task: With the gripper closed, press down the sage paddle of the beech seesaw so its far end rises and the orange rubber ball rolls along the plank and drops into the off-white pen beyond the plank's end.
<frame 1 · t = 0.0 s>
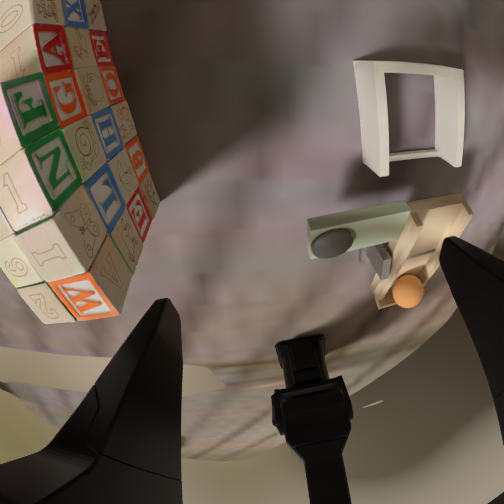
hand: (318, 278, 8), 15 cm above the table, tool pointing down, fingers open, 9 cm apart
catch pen: (404, 110, 18), on the table
fulcrum: (399, 233, 26), on the table
ball: (408, 291, 26), point 4 cm above the table, tilted 19°, touching lever
stack of blocks: (88, 97, 16), on the table
lever: (383, 267, 23), point 4 cm above the table, hinge at -19.3°, touching ball
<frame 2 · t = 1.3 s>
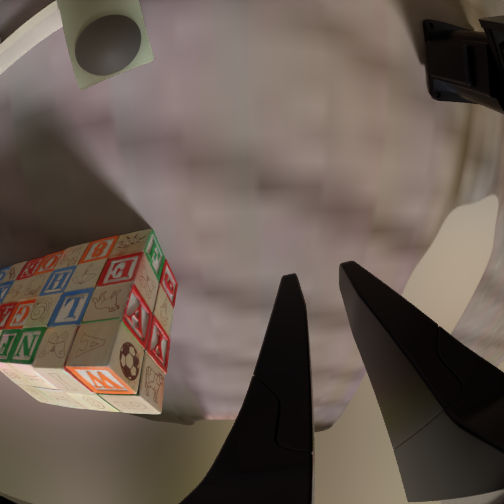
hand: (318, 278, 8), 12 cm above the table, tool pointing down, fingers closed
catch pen: (29, 3, 8), on the table
stack of blocks: (72, 274, 23), on the table
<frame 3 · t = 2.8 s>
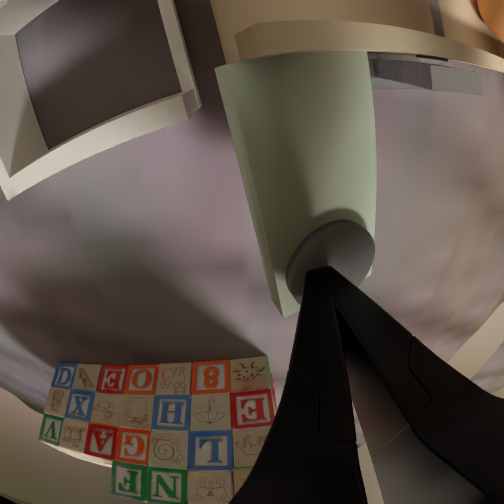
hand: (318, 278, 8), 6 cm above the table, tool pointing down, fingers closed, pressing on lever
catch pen: (82, 52, 8), on the table
stack of blocks: (158, 377, 23), on the table
lever: (453, 79, 6), point 4 cm above the table, hinge at -17.3°, touching ball, gripper
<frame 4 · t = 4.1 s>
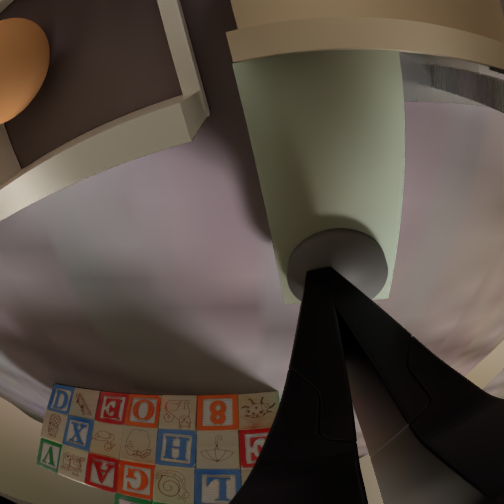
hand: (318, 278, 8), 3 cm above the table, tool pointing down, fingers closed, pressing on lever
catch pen: (55, 46, 5), on the table
stack of blocks: (159, 404, 21), on the table
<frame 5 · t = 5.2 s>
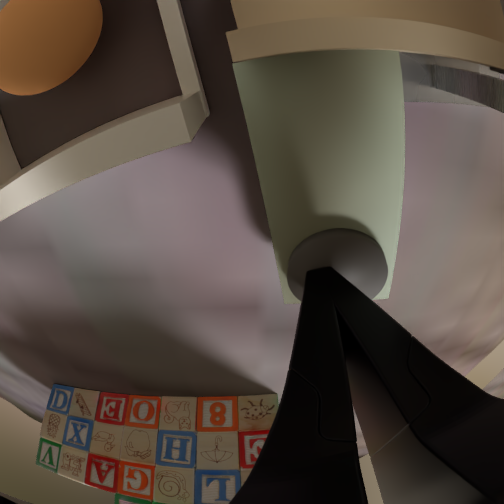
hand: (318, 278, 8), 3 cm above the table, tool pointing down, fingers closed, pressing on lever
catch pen: (55, 46, 5), on the table
ball: (41, 35, 4), point 2 cm above the table, tilted 137°
stack of blocks: (159, 405, 21), on the table
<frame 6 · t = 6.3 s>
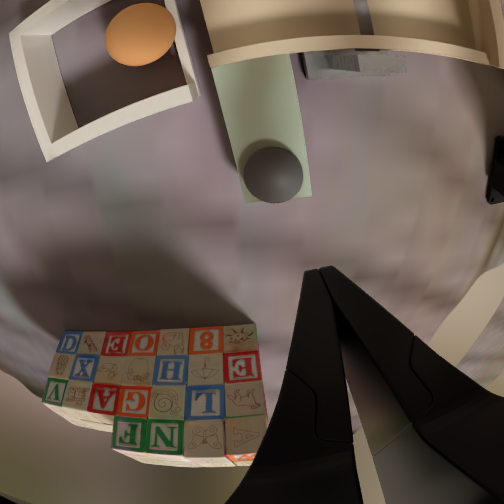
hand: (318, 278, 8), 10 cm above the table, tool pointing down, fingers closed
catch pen: (110, 53, 11), on the table
fulcrum: (334, 4, 10), on the table
ball: (140, 33, 9), point 2 cm above the table, tilted 169°
stack of blocks: (156, 345, 27), on the table
lever: (371, 62, 9), point 4 cm above the table, hinge at 11.8°
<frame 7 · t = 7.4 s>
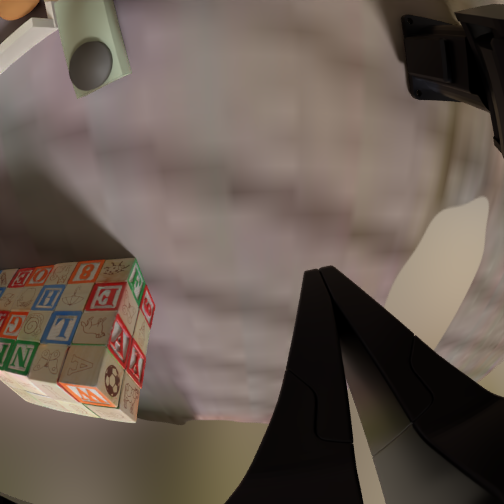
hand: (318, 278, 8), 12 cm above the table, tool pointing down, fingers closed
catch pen: (11, 17, 8), on the table
stack of blocks: (59, 285, 24), on the table
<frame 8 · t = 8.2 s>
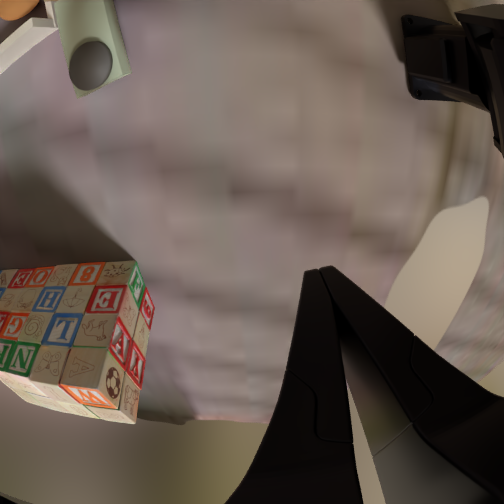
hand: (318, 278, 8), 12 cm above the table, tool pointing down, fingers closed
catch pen: (11, 17, 8), on the table
stack of blocks: (59, 286, 24), on the table
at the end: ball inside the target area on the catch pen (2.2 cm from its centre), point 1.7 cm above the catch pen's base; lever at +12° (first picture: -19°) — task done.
